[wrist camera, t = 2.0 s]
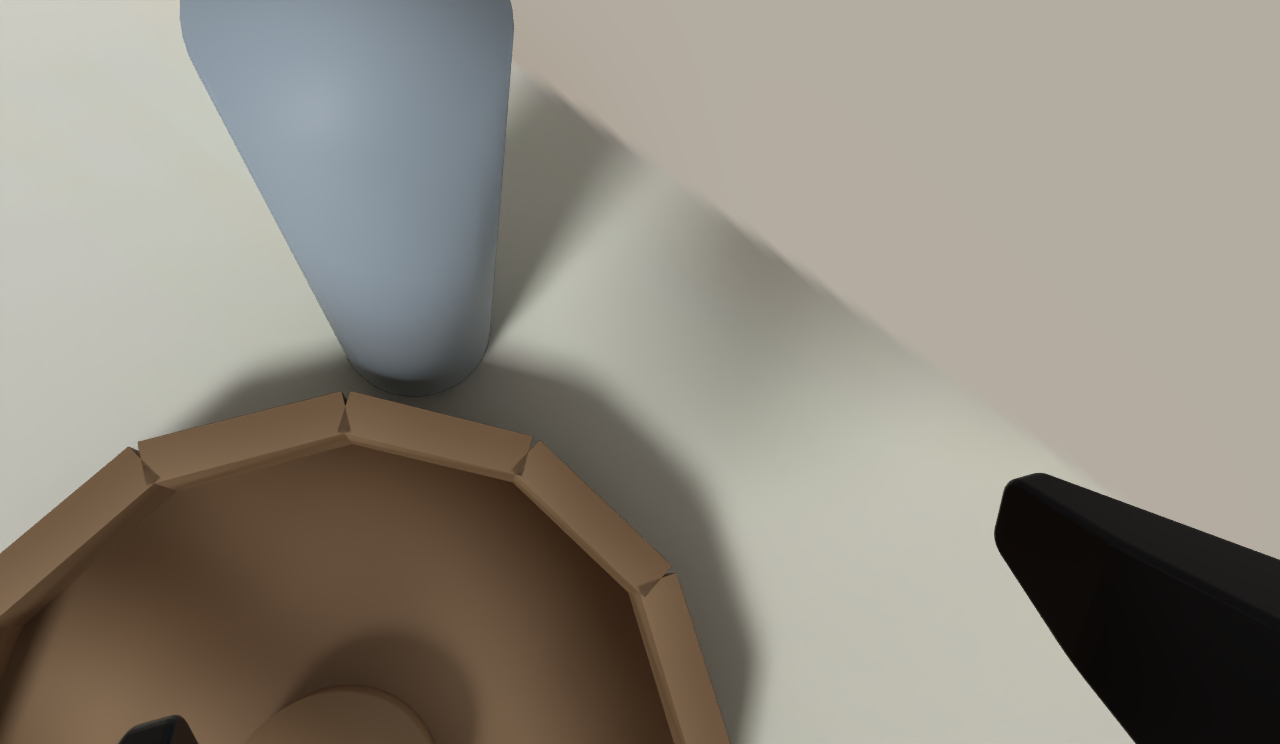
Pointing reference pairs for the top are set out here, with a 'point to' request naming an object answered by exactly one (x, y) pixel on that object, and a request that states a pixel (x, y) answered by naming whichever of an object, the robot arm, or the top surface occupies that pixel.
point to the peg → (374, 162)
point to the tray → (346, 593)
